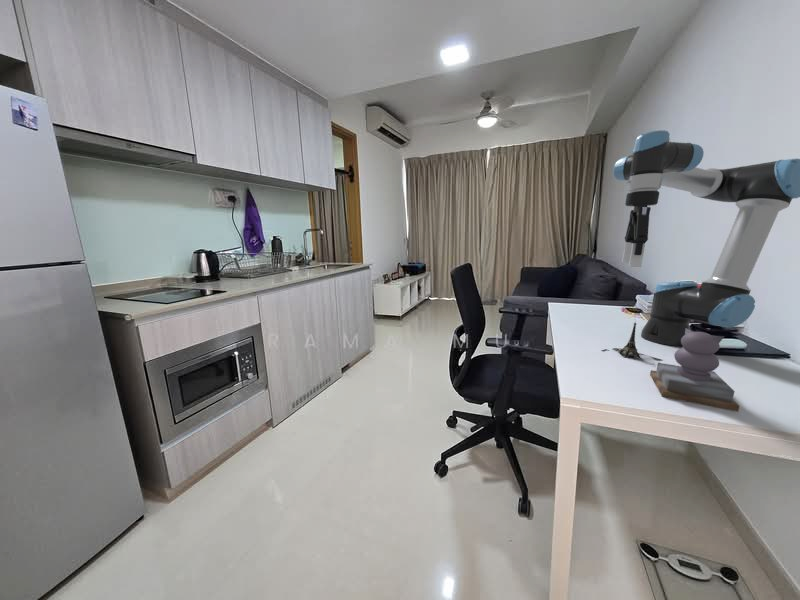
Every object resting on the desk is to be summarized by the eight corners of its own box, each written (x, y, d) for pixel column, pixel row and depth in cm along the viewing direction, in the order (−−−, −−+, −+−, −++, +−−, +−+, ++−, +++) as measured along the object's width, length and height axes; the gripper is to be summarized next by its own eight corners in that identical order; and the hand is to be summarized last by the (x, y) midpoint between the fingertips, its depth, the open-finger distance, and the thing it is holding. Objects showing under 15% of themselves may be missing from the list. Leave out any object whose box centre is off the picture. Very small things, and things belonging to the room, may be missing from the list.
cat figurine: (664, 371, 82) (673, 329, 80) (680, 366, 85) (689, 325, 83) (705, 385, 75) (716, 339, 72) (721, 379, 78) (732, 335, 75)
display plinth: (649, 374, 90) (652, 360, 89) (714, 386, 84) (717, 370, 83) (662, 396, 78) (665, 380, 77) (737, 411, 72) (742, 394, 71)
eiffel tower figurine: (663, 361, 101) (671, 323, 98) (649, 368, 96) (657, 328, 93) (614, 347, 114) (620, 312, 111) (599, 352, 109) (605, 316, 106)
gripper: (621, 196, 101) (611, 260, 105) (634, 186, 79) (621, 267, 84) (649, 195, 97) (638, 261, 102) (672, 184, 76) (656, 269, 80)
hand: (630, 264), depth 93 cm, fingers open, 13 cm apart
